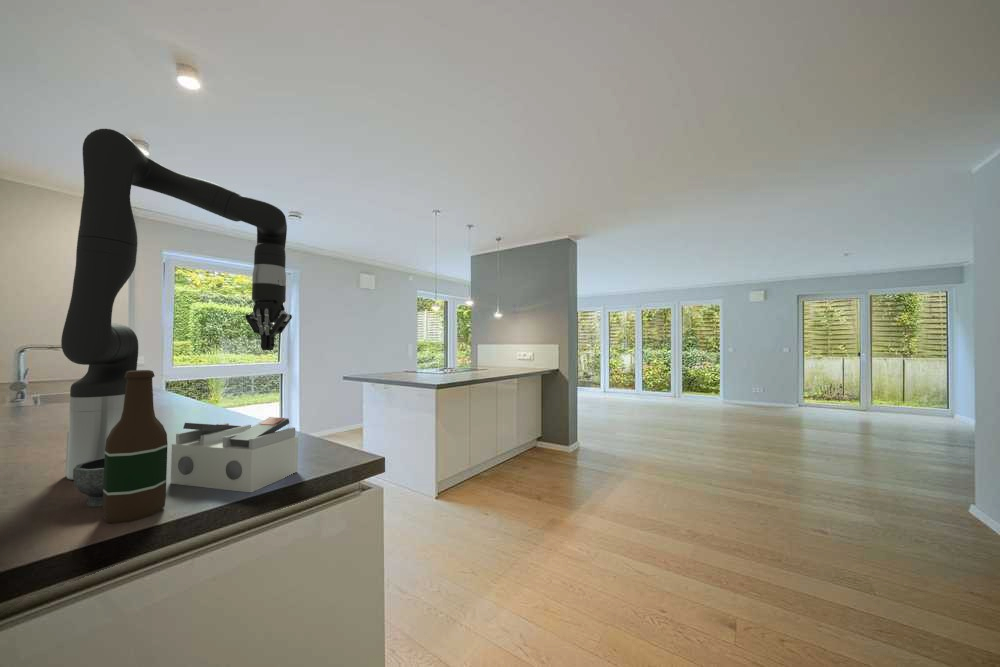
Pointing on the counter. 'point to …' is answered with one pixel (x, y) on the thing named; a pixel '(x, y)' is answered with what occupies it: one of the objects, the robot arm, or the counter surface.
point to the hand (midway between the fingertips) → (267, 350)
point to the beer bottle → (135, 456)
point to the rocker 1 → (208, 426)
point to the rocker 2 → (259, 430)
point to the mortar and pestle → (90, 480)
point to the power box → (233, 459)
